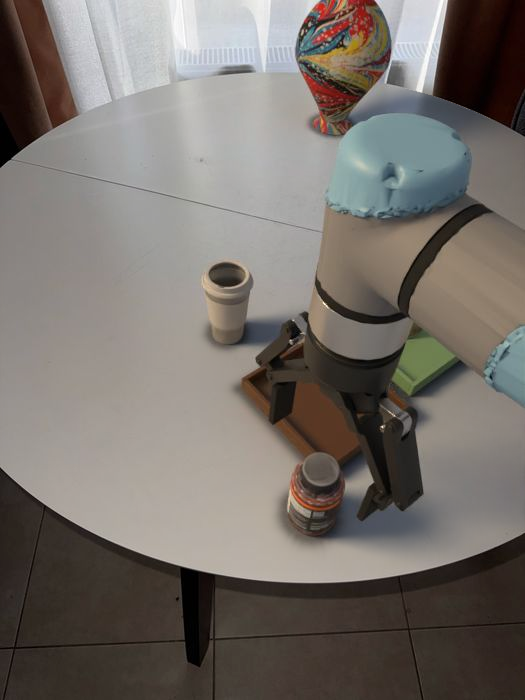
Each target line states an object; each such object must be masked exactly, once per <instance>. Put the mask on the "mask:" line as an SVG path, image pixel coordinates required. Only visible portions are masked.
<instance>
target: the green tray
mask: <svg viewBox="0 0 525 700" xmlns="http://www.w3.org/2000/svg"><path fill="white" fill-rule="evenodd" d="M460 361H461V360H460V359H459V358H457V357H456V356H455V355H454V354H452V353H451V352H450V351H449V350H448V349H446V348H445V347H444V346H443V345H441V344H440V343H439V342H438V341H436V340H435V339H434V338H433V337H432V336H430V335H429V334H428V333H427V332H425V331H424V330H423V329H422V330H421V332H420V333H418V334H417V335H415V336H413V337H410V338H407V340H406V344H405V347H404V350H403V353H402V355H401V358H400V361H399V363H398V366H397V369H396V371H395V373H394V375H393V377H392V379H391V381H392V382H393V383H394V384H395V385H397V386H398V388H400V389H401V390H402V391H403V392H404V393H405V394H406V395H408V396H409V397H412V396H413V395H415V394H416V393H417V392H418V391H420V390H421V389H423V388H424V387H425V386H426V385H428V384H429V383H431V382H432V381H434V380H435V379H436V378H437V377H439V376H441V375H442V374H443V373H444V372H446V371H447V370H448V369H450V368H451V367H453V366H454V365H455V364H456V363H458V362H460Z"/></svg>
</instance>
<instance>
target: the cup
mask: <svg viewBox="0 0 525 700" xmlns="http://www.w3.org/2000/svg"><path fill="white" fill-rule="evenodd" d="M200 279H201V281H200V283H201V286H202V288H203V290H204V294H205V299H206V306H207V307H206V308H207V313H208V319H209V322H210V326H211V327H210V328H211V335H212V337H213V339H214V340H215V341H216V342H217V343H220V344H222V345H234V344H236V343H238V342H240V341H241V339H242V338H243V336H244V331H245V325H246V324H245V323H246V321H247V315H248V308H249V302H250V294H251V291H252V289H253V287H254V284H255V283H254V277H253V275H252V273H251V272H250V270H249V268H248V267H247V266H246V265H245V264H244V263H242V262H240V261H238V260H234V259H226V258H225V259H220V260H216V261H213V262H211V263H210V264H209V265H208V266H207V267H206V269H205V271H203V273H202V276H201V278H200Z"/></svg>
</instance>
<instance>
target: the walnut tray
mask: <svg viewBox="0 0 525 700" xmlns="http://www.w3.org/2000/svg"><path fill="white" fill-rule="evenodd" d="M291 357H292V358H291ZM280 358H281V359H282V361H283V362H285V361H286V360H288V359H289V358H291V359H292V360H295V359H303V358H304V343H302V344H295V345H294V346H292V347H291V348H290V349H289V350H287V351H286V352H285V353H284V354H282V355H281V356H280ZM267 372H268V370H267V369H266V367H265V366H263V367H260V366H259V367H258V368H257V369H255V370H253V371H251V372H250V373H248V374H246V375H244V376H243V377H241V385H240V386H241V390H242V392H244V393H245V395H247V396H248V398H250V400H251V401H252V402H253V403H254V404H255V405H256V406H257V407H258V408H259V410H261V411H262V412H263V414H265V416H266V417H267V418H268V419H269V410H270V401H271V395H270V394H269V391H268V387H269V379H268V378H267V375H266V373H267ZM319 388H320V387H319V386H318V384H315V383H302V382H301V381H297V384H296V390H295V396H294V403H293V409H292V413H291V414H289V415H288V416H286V417H285V418H283V419H282V420H280V421H279V422H277V423H276V424H274V425H275V426H276V428H277V429H278V430H279V431H280V432H281V433H282V434H283V436H284V437H286V439H287V440H288V441H289V442H290V443H291V444H292V445H293V446H294V447H295V448H296V449H297V451H299V452H300V454H301V455H302V456H303V457H304V458H305V459H306V458H307V457H308V456H309V455H311V454H313V453H319V452H321V453H327V454H329V455H331V456H332V457H333V458H334V459H335V460H336V461H337V462H338V464H339V467H340V468H341V467H342V466H343V465H345V464H346V463H347V462H349V461H350V460H352V459H353V458H354V457H355V456H357V455H358V454H359V453H360V452H362V449H361V446H360V444H359V441H358V438H357V436H356V433H354V432H351V431H349V429H348V426H347V424H346V421H345V419H344V416H343V413H342V412H341V411H340V410H339V409H338V408H337V407H336V405H335V404H334V403H333V402H332V400H331V399H329V398H328V397H326V396H325V395H324V394H323V393H322V392H321V391H320V390H319ZM388 392H389V400H390V401H392V402H393V403H394V404H395V405H397V406H398V407H399V408H400V409H401V410H404V409H405V408H406V407H408V406H411V405H410V404H409V403H407V402H406V400H404V399H403V398H402V396H400V395H398V393H396V392H395V391H394V389H392V388H391V387H390V386H388ZM363 415H364V414H357V417H358V418H360V417H361V416H363Z"/></svg>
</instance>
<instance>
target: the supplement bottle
mask: <svg viewBox="0 0 525 700" xmlns="http://www.w3.org/2000/svg"><path fill="white" fill-rule="evenodd" d="M290 478H291V479H290V484H289V491H288V496H287V507H286V514H287V519H288V521H289V522H290V524H291V525H292V527H293V528H294V529H295V530H296V531H297V532H299V533H301V534H303V535H306V536H321V535H323V534H325V533H327V532H328V531H329V530H330V529H331V528H332V527H333V526H334V525H335V522H336V519H337V517H338V514H339V510H340V508H341V505H342V501H343V497H344V494H345V491H346V478H345V475H344V472H343V470H342V468H341V466H340V467H339V464H338V462H337V461H336V460H335V459H334V458H333V457H332V456H331V455H329V454H327V453H321V452H319V453H313V454H311V455H309V456H308V457H307V458H305V459H303V460H301V461H300V462H298V463H297V465H296V466H295V468H293V470H292V474H291V477H290Z"/></svg>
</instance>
